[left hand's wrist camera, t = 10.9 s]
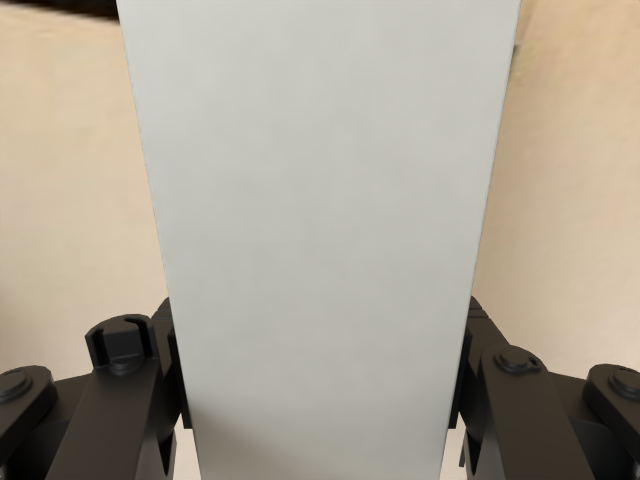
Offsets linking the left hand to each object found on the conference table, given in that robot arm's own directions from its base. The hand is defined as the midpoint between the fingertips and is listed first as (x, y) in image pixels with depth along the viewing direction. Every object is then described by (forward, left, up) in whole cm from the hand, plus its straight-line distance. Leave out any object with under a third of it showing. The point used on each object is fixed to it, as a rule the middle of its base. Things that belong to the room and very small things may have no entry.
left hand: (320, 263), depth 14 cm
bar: (+5, +5, -1) cm, 7 cm away
